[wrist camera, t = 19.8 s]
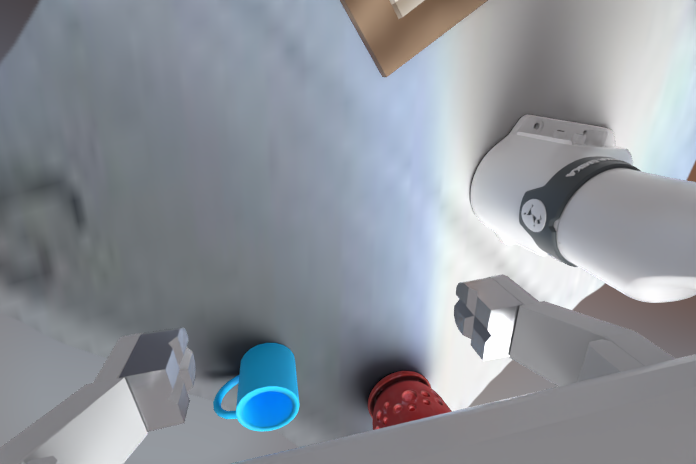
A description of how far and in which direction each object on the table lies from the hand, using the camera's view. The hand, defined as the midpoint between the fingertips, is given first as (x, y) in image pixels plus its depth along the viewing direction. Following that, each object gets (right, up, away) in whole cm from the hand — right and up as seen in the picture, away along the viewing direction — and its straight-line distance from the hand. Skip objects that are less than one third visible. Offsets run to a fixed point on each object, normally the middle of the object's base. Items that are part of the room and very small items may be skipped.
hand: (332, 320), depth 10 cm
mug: (-14, -18, +42) cm, 48 cm away
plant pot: (+9, -25, +50) cm, 57 cm away
